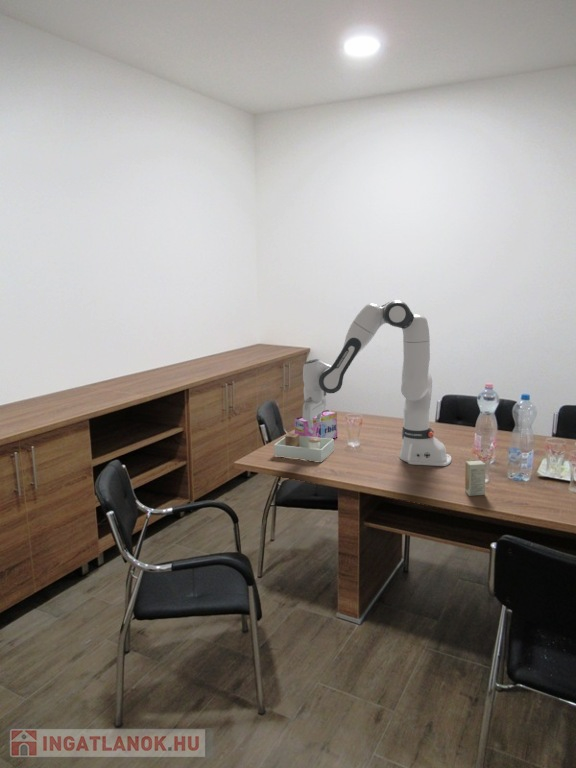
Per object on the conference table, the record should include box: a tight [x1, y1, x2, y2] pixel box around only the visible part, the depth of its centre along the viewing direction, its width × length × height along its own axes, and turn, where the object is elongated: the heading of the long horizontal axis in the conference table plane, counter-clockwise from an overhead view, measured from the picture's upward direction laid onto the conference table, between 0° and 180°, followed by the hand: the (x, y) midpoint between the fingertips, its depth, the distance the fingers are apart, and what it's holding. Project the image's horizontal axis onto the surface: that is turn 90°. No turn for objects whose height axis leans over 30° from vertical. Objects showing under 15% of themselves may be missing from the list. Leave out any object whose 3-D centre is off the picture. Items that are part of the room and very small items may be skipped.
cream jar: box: [309, 438, 320, 449], centre depth 245 cm, size 5×5×7 cm
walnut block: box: [284, 432, 300, 447], centre depth 250 cm, size 5×5×8 cm
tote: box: [273, 436, 335, 463], centre depth 248 cm, size 23×17×6 cm
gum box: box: [293, 409, 338, 439], centre depth 266 cm, size 24×8×14 cm, turn 131°
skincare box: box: [464, 460, 487, 497], centre depth 198 cm, size 6×4×12 cm
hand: (314, 424), depth 243 cm, fingers open, 8 cm apart
